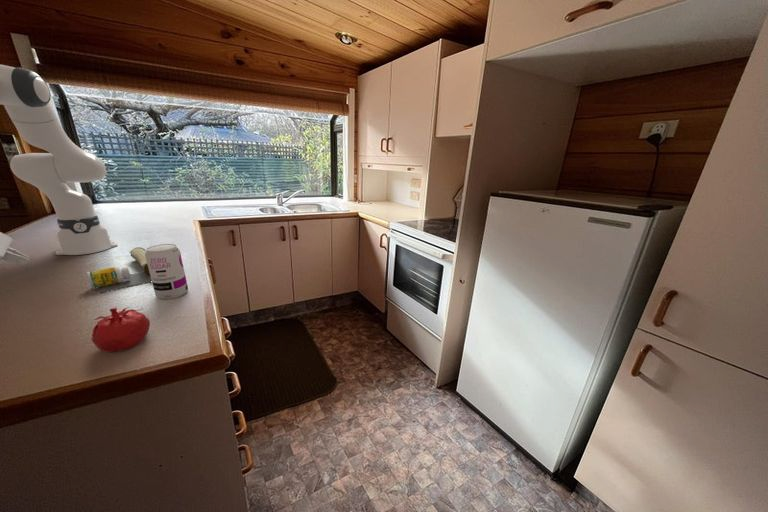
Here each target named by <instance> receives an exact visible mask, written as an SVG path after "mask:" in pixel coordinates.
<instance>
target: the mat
mask: <svg viewBox="0 0 768 512" xmlns="http://www.w3.org/2000/svg"><path fill="white" fill-rule="evenodd" d="M130 276H131V279H123V281H122V282H121V283H118V284H113V285H108V286H103V287H98V288H97V291H98V294H99V293H100V294H103V293H102V292H105V293H108V292H107V291H109V292H112V291H111V290H114V291H117V290H116V289H118V290H121V288H122V289H126V288H125V287H127V288H130V286H131V287H135V286H134V285H136V286H140V285H144V284H143V283H145V284H148V283H147V282H149V283H152V282H151V281H152V280H151V276H149V275H146V273H145V272H144V271H140V272H135V273H130ZM139 284H140V285H139Z"/></svg>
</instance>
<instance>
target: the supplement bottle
mask: <svg viewBox="0 0 768 512" xmlns="http://www.w3.org/2000/svg"><path fill="white" fill-rule="evenodd" d="M130 274H131V273H130V270H129V267H128V266H125V267H122V268H120V267H118V266H113V267H108V268H103V269H97V270H92V271H87V272H86V276H87V277H86V278H87V281H88V283H89V286H90V288H91V289H93V290H94V289H98V287H103V286H108V285H113V284H118V283H121V282H122V281H123V279H131V276H130Z"/></svg>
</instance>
